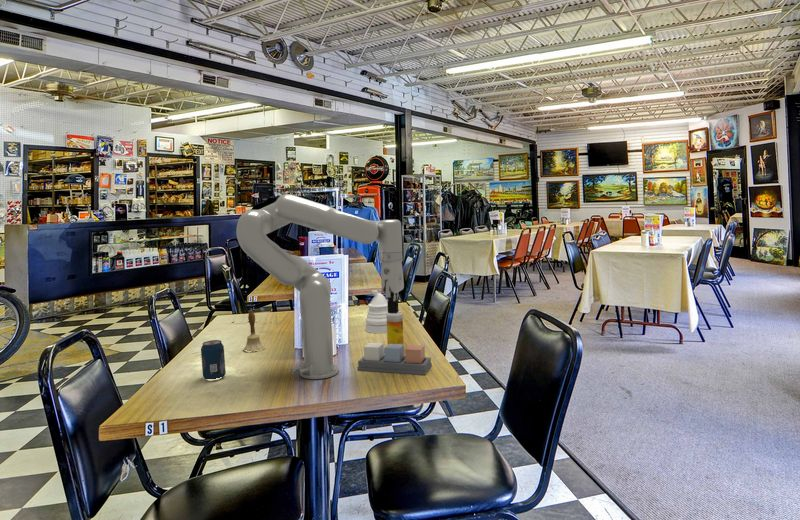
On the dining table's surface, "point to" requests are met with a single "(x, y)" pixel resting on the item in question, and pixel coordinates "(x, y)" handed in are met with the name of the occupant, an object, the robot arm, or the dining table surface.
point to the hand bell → (253, 335)
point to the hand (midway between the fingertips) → (393, 312)
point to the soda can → (213, 359)
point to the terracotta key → (415, 354)
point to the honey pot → (377, 314)
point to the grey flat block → (395, 366)
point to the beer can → (395, 328)
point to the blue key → (394, 352)
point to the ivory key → (374, 351)
